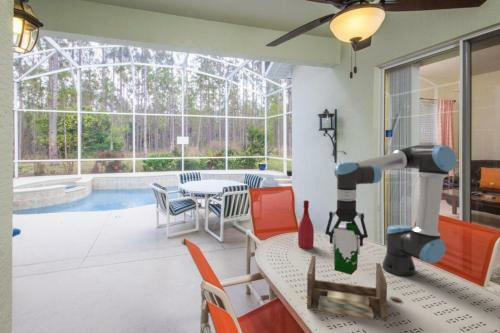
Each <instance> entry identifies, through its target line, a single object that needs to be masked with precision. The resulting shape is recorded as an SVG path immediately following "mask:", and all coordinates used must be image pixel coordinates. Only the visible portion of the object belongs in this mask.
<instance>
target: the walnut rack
mask: <svg viewBox="0 0 500 333" xmlns="http://www.w3.org/2000/svg"><path fill="white" fill-rule="evenodd" d="M375 265H376V266H375V287H370V286H365V285H357V284H349V283H343V282H342V283H341V282H336V281H335V282H334V281H329V280H321V279H320V280H319V279H316V255H312V256H311V258H310V263H309V267H308V270H307V278H306V279H307V280H306V281H307V283H306V286H307V287H306V289H307V290H306V307H307V309H312V304H313V301H314V302H318V301H319V295H320V296H327V295H328V291H333V292H339V293H345V294H351V295H358V296H364V297H368V300H369V307H372V311H373V312H374V311H375V312H379V316H380V320H381V321H382V322H387V300H388V298H387V295H388V283H387V280H386V277H385V274H384V271H383V267H382V265H381V263H380V262H379V263H377V262H376V263H375Z"/></svg>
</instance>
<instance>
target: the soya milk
mask: <svg viewBox="0 0 500 333" xmlns="http://www.w3.org/2000/svg"><path fill="white" fill-rule="evenodd" d="M345 223H346V224H345V225H344V224H339V226H338V228H334V234H333V235H334V237H335V238H334V252H333V258H334V259H333V260H334V262H333V264H334V266H333V267H334V268H333V269H334V271H336V272H339V273H344V274H346V275H350V276H351V275H353V274H354V272H356V271H357V270H358V259H359V257H358V237H359V235H358V233H357V229H356V225H353V224H352V222H345Z"/></svg>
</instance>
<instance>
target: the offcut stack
mask: <svg viewBox="0 0 500 333" xmlns="http://www.w3.org/2000/svg"><path fill="white" fill-rule="evenodd" d="M333 291H334V290H331V291H328V295H327V296H320V295H319V301H317V302H318V303H317V304H318V305H317V310H318V311H322V312H327V313H334V314H339V315H340V314H341V315H346V316H353V317H360V318H367V319H374V310H372V307H369V300H368V297H364V296H358V295H359V294H358V295H351V294H352V293H351V294H345V293H346V292H345V293H339V292H340V291H338V292H333Z"/></svg>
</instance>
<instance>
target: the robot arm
mask: <svg viewBox="0 0 500 333" xmlns="http://www.w3.org/2000/svg"><path fill="white" fill-rule="evenodd" d="M456 165H457V155H456V153H455V151H454V150H453V148H452V147H451V146H448V145H443V144H427V145H426V144H423V145H422V144H421V145H420V144H418V145H411V146H407V147H404V148H400V149H397V150H394V151H392V152H391V153H389V154H385V155H384V154H383V155H380V156H376V157H373V158H372V157H370V158H367V159H363V160H358V161H340V162H338V163H337V165H336V166H335V168H334V170H333V171H334V172H333V173H334V176H335V177H336V187H337V189H336V198H337V199H336V210H335V211H332V210H330V211H329V212H328V214H329V215H328V216H329V219H328V221H327V226H326V230H325V235H328V236H329V243H330V245H331V244H332V251H331V252H332V253H334V238H335V237H334V228H338V226H339V225H341V223H342V222H345V223H352V224H353V225H356V229H357V233H358V255H361V247H363V246H364V239H367V238H368V237H369V236H368V231H367V228H366V223H365V214H364V212H357V201H356V199H357V185H368V184H369V185H373V184H377V183H379V182H380V181H381V180H382V178H383V176H382V175H383V173H382V172H387V171H391V170H394V169H398V170H403V169H416V170H417V169H418V174H419V176H421V179H420V188H419V195H418V204H417V212H416V213H417V214H416V220H415V226H414V227H413V226H411V225H406V224H405V225H404V224H395V225H393V224H392V225H389V226H388V227H387V231H386V253H385V256H384V258H383V260H382V265H381V268H382V270H384V271H385V272H387V273H390V274H393V275H395V276H400V277H401V276H403V277H411V276H414V275H415V274H416V265H415V263H414V259H413V258H415V259H418V260H420V261H422V262H425V263H428V264H436V263H437V262H440V260H442V258H443V257H444V255H445V253H446V249H447V248H446V247H447V246H446V243H445V242H444V241H443V240H442V239H441V233H440V232H439V231H438V226H439V217H440V209H441V201H442V195H443V194H442V193H443V185H444V179H445V178H447V177H448V176H449V172H452V171H453V170H454V169H455V167H456ZM335 215H336V216H337V217H338V219H337V220H336V222H335V223H334V225H333V227H332V226H331V225H332V221H333V218H334V217H335ZM356 217H357V218H359V219H360V224H361V228H362V231H363V233H362V232H361V230H360V228H359V226H358V225H357V224H358V223H356V220H355V218H356ZM331 227H332V229H331ZM330 229H331V231H330Z"/></svg>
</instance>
